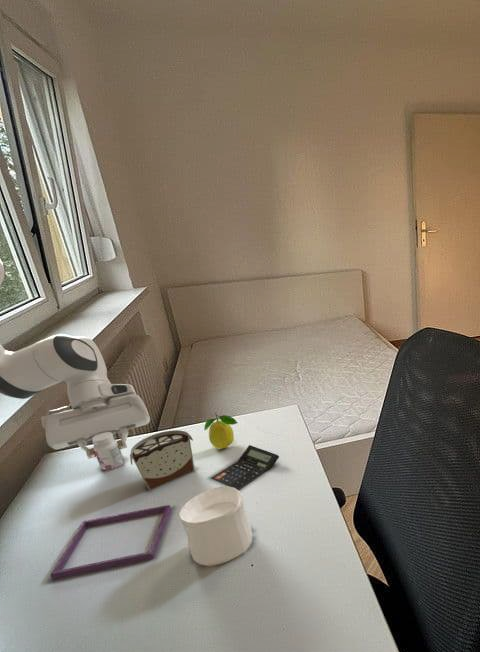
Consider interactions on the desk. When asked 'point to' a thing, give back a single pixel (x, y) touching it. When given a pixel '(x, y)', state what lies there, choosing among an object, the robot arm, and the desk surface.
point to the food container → (163, 457)
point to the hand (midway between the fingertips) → (108, 452)
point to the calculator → (247, 468)
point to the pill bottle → (107, 451)
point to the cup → (216, 526)
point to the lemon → (221, 431)
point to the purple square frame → (60, 573)
